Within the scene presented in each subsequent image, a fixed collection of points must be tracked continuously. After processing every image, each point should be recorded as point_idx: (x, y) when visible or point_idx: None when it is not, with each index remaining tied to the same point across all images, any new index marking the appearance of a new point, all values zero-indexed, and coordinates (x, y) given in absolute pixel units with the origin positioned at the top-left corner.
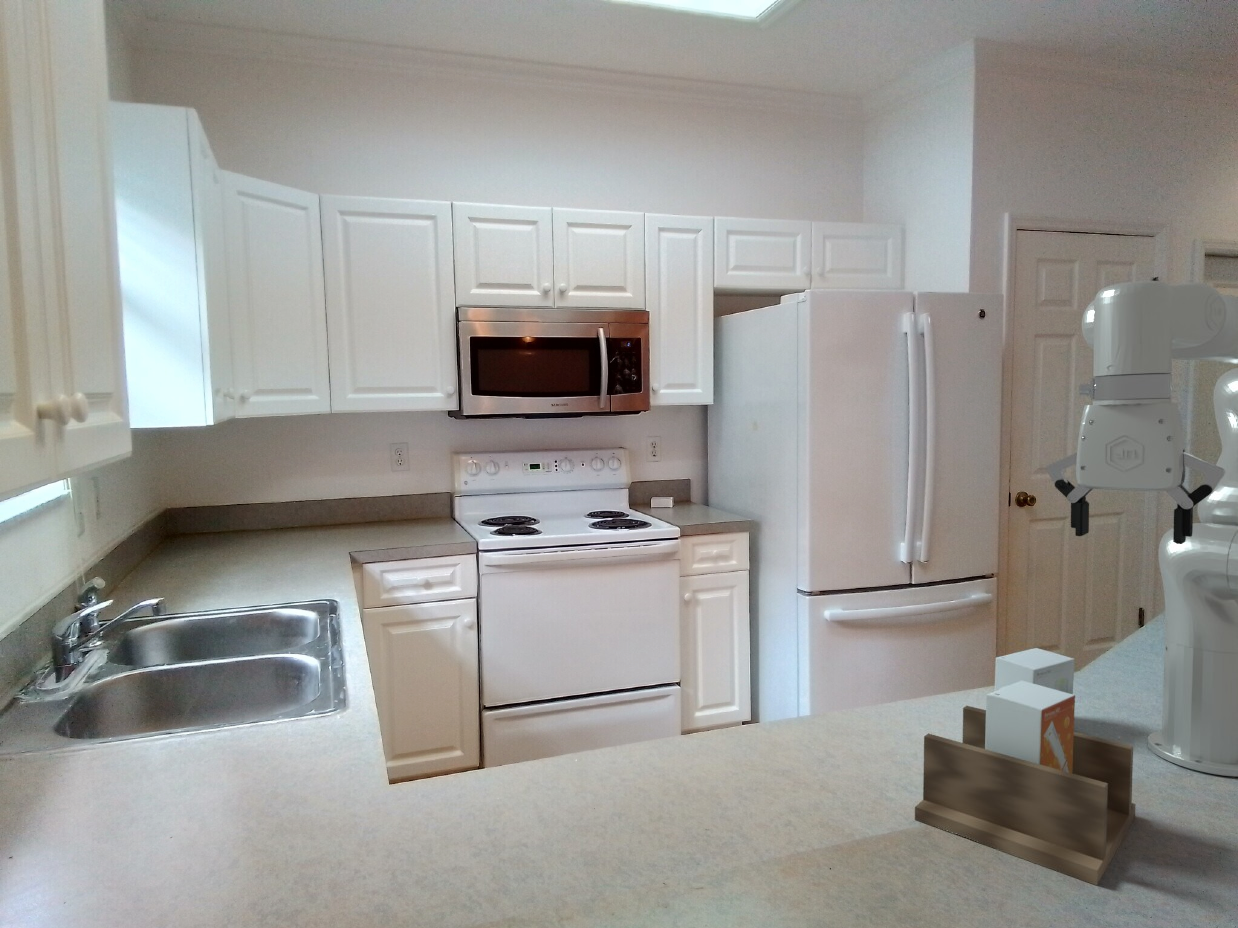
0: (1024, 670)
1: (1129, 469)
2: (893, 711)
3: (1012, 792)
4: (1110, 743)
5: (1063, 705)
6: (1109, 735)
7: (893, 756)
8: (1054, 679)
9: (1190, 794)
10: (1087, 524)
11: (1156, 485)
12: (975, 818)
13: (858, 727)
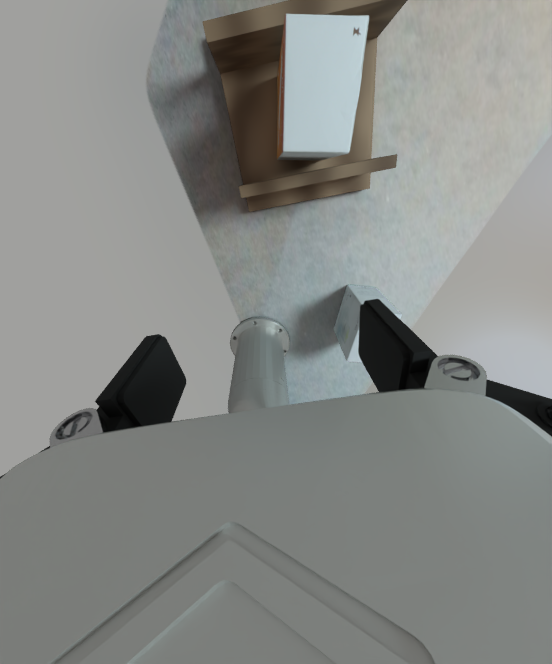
0: None
1: (194, 567)
2: (454, 249)
3: None
4: (256, 185)
5: (282, 107)
6: (310, 331)
7: (431, 145)
8: (350, 329)
9: (243, 280)
10: (366, 358)
11: (79, 452)
12: None
13: (477, 184)
